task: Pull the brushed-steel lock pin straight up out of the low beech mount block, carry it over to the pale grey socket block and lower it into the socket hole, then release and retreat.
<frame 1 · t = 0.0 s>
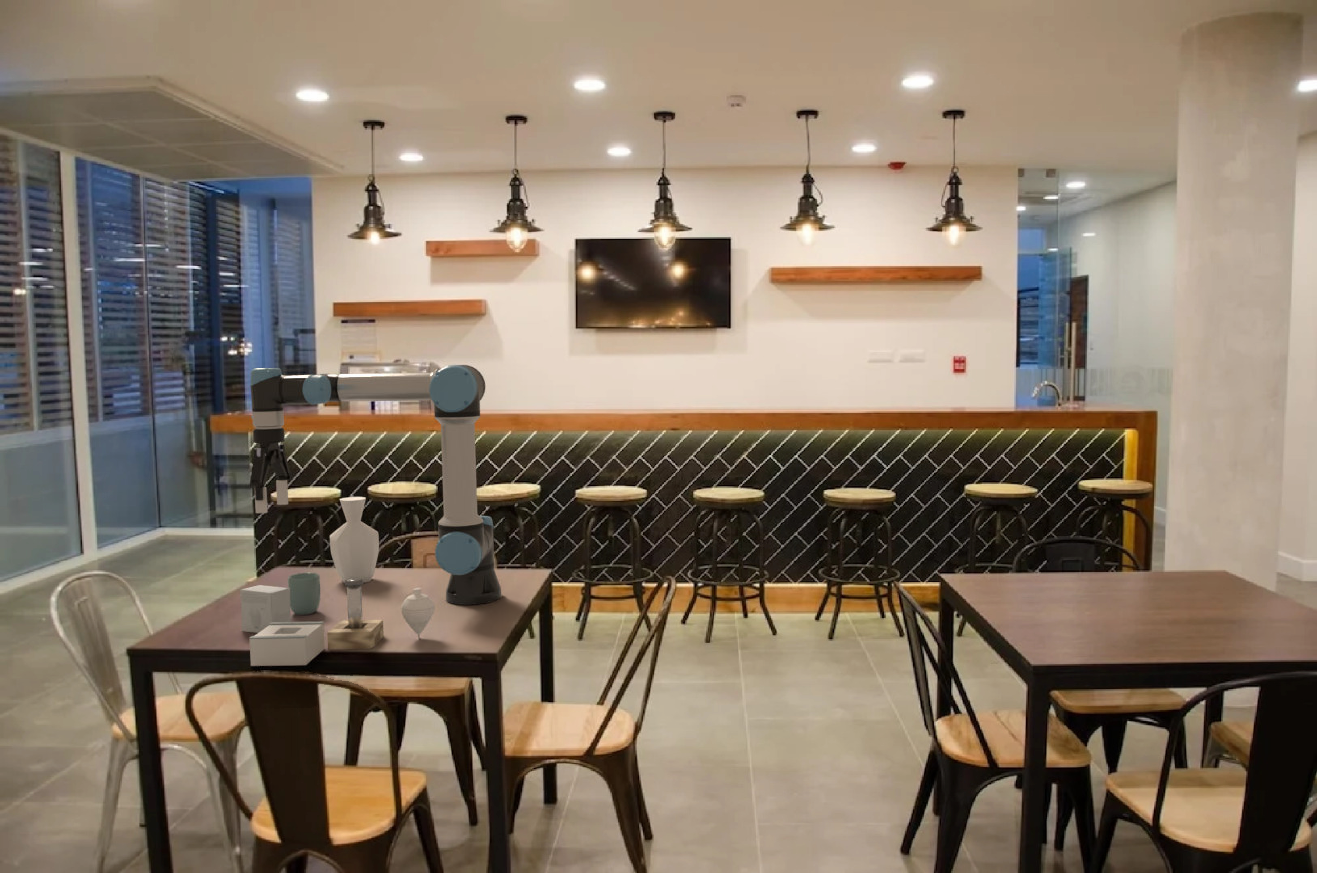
hand: (272, 508, 246), 28 cm above the table, fingers open, 13 cm apart
vase: (356, 581, 285), on the table
mount: (356, 642, 222), on the table
cup: (305, 613, 249), on the table
spinning top: (418, 638, 225), on the table
socket: (288, 656, 212), on the table
pin: (355, 611, 221), in the mount
skincare box: (266, 630, 234), on the table
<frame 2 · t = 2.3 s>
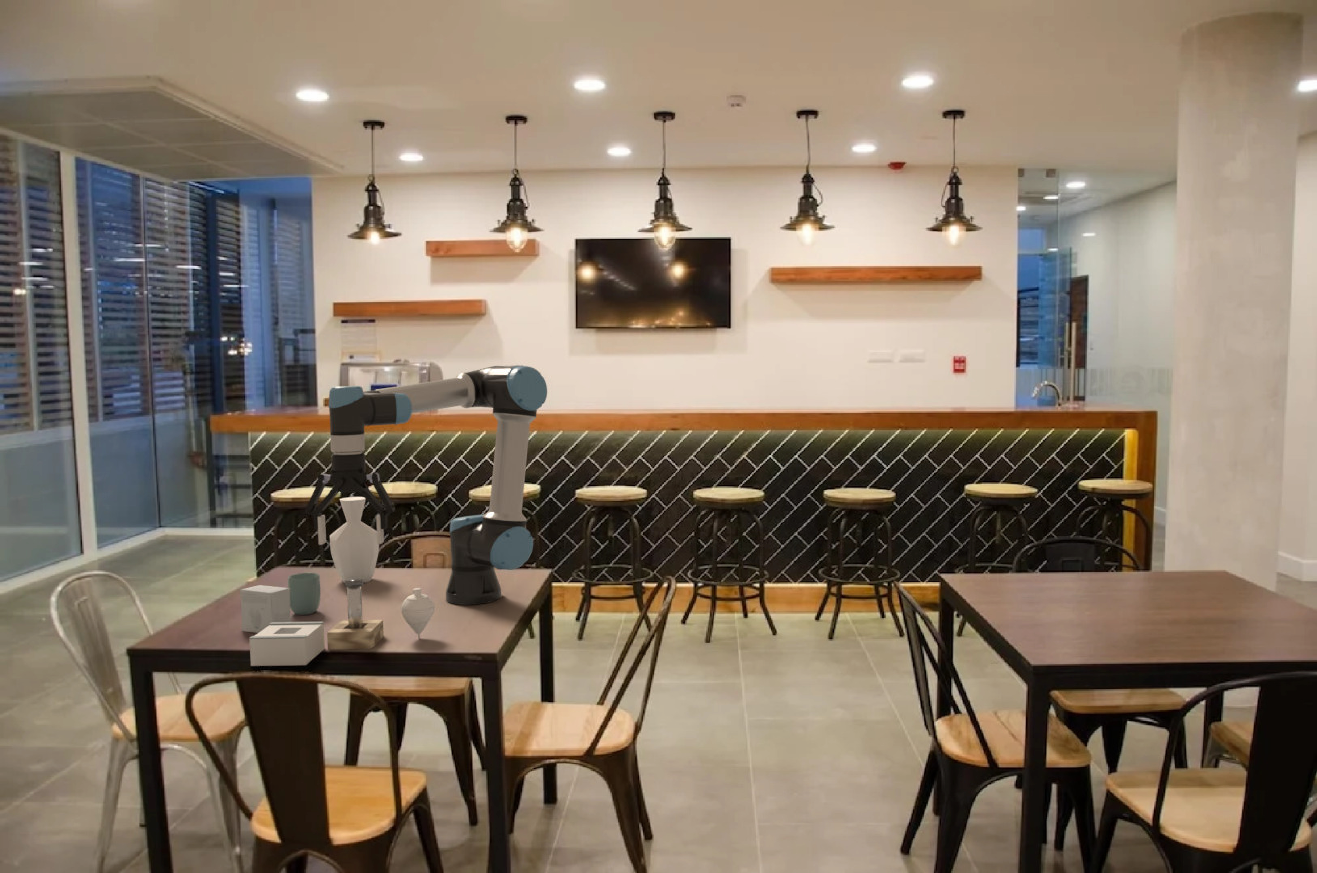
hand: (351, 543, 220), 24 cm above the table, fingers open, 13 cm apart
nothing on the table moved.
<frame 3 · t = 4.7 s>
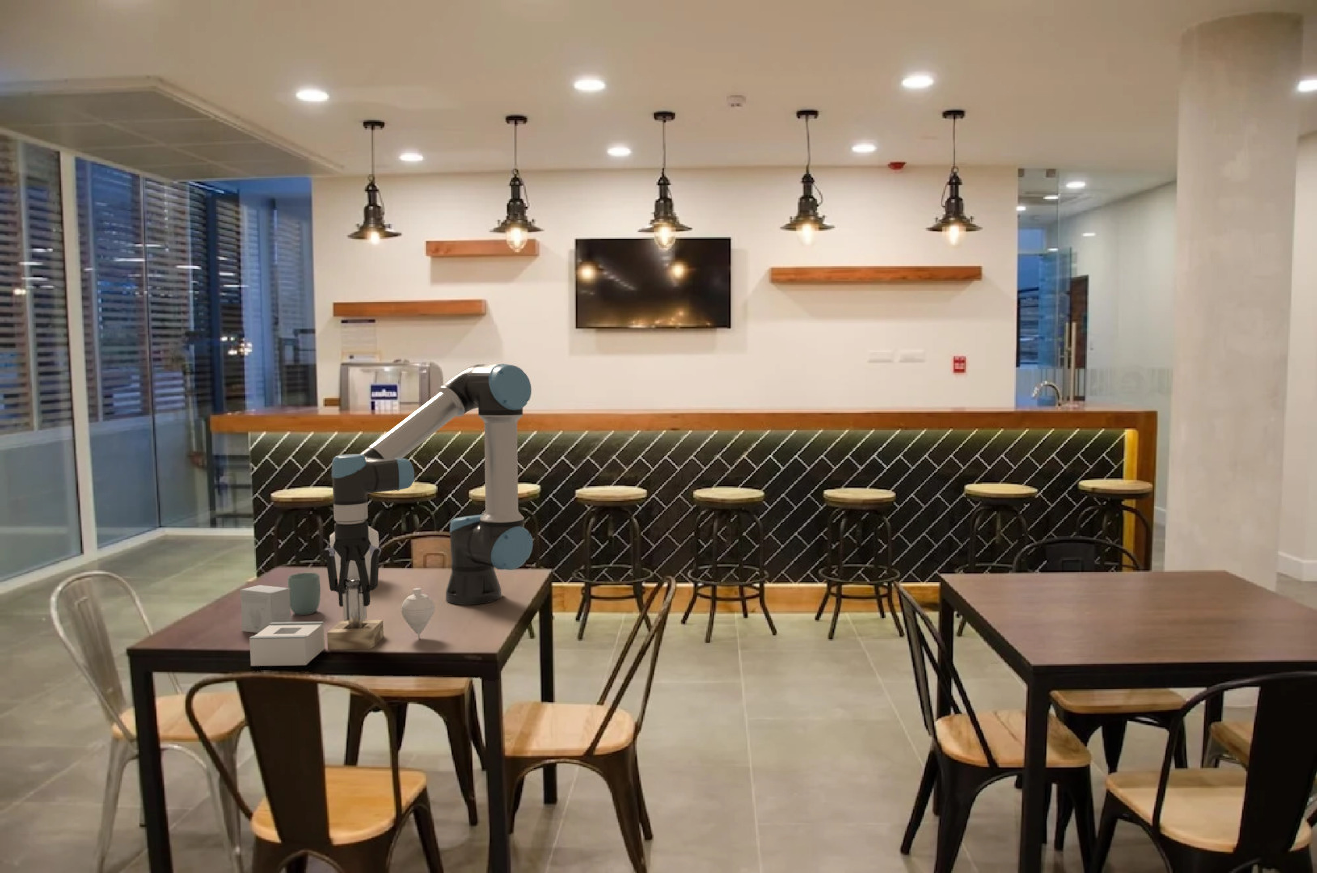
hand: (355, 619, 222), 6 cm above the table, fingers closed on pin, 3 cm apart
pin: (355, 611, 221), in the mount, touching gripper
everything else where it was.
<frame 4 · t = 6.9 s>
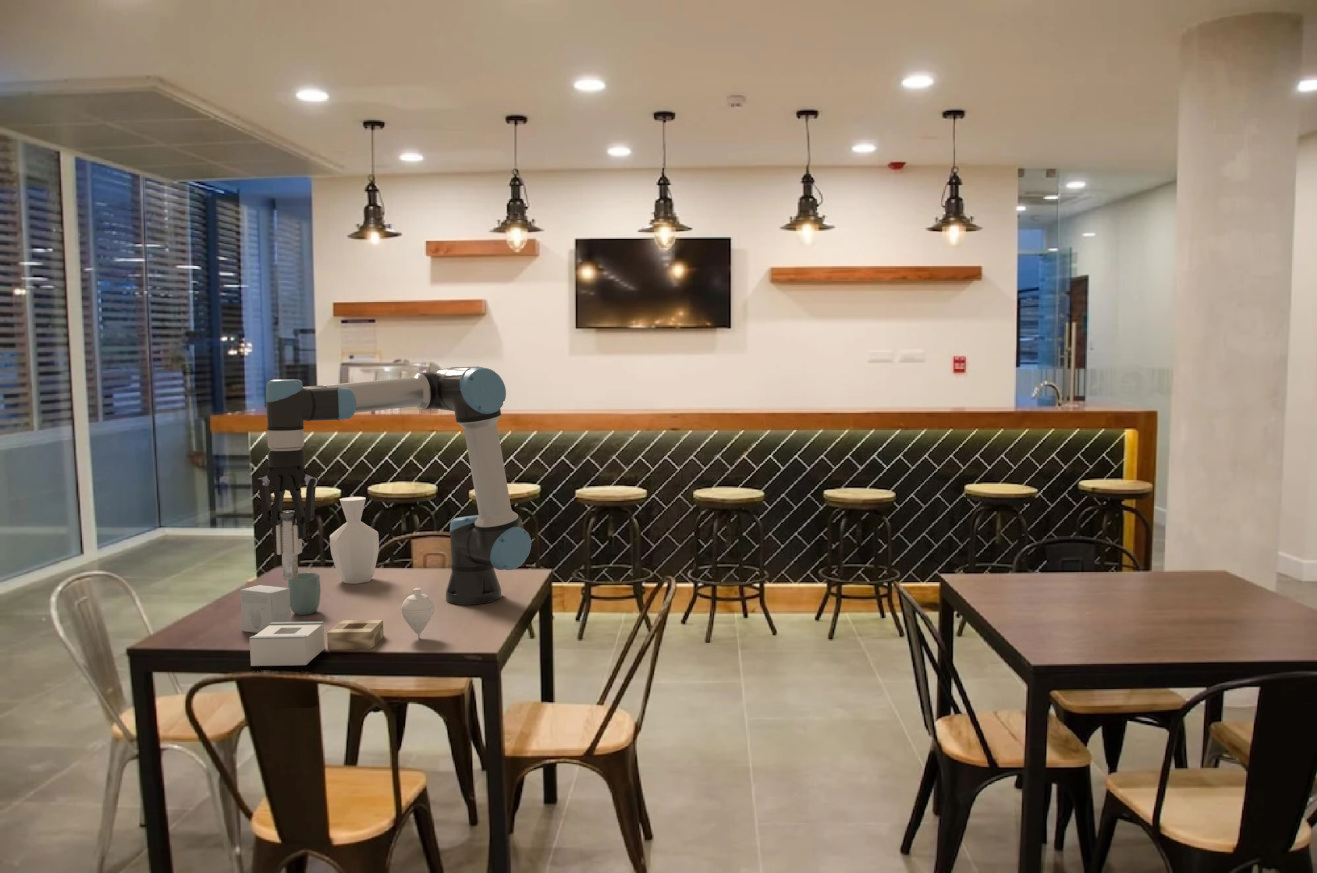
hand: (289, 553, 211), 23 cm above the table, fingers closed on pin, 3 cm apart
pin: (289, 545, 211), point 25 cm above the table, touching gripper
everything else where it was.
when the fingers open (8 cm above the table, at t = 9.3 s): pin drops 2 cm, resting in socket.
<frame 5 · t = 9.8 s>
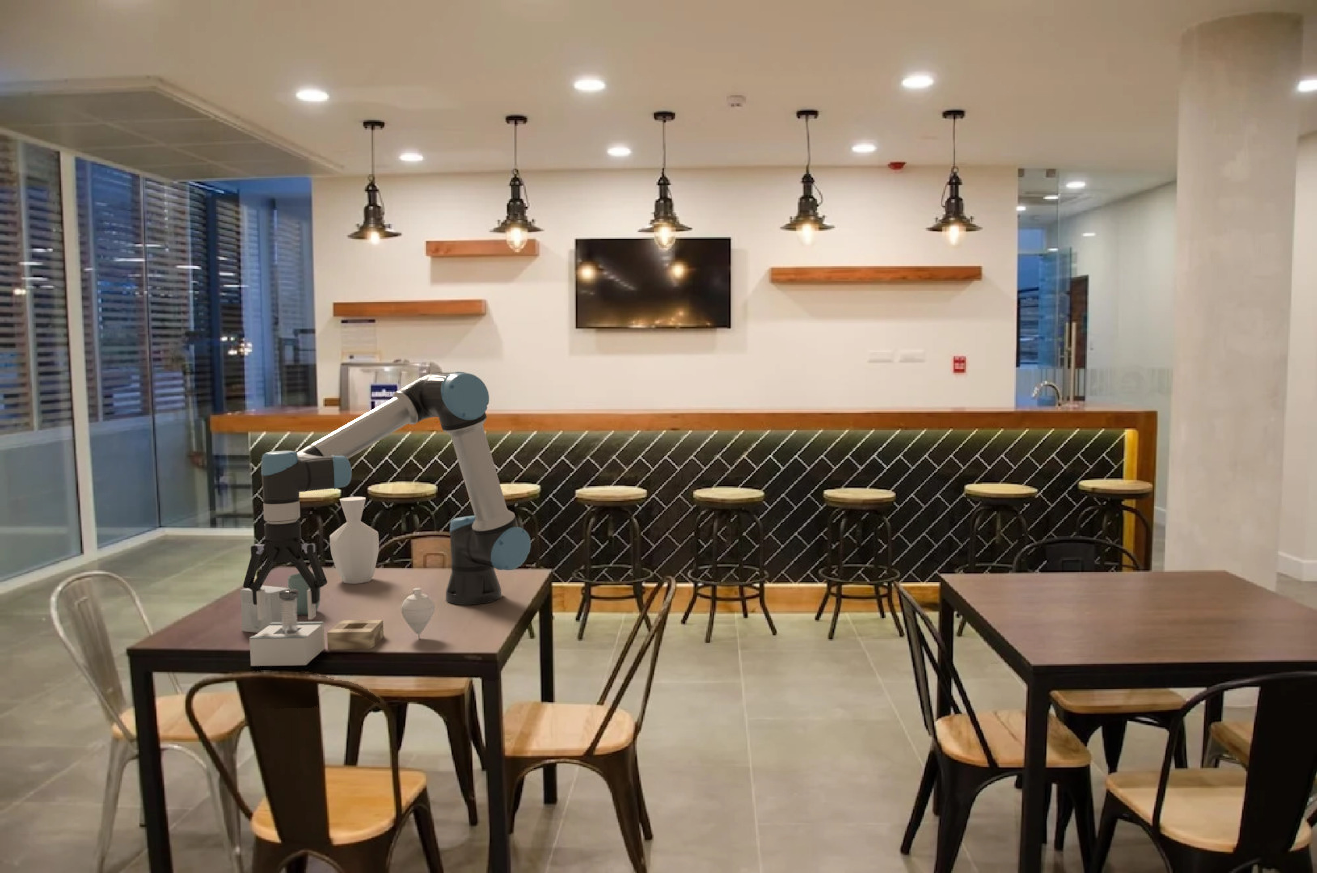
hand: (287, 618, 211), 9 cm above the table, fingers open, 10 cm apart
pin: (289, 624, 211), in the socket
everything else where it was.
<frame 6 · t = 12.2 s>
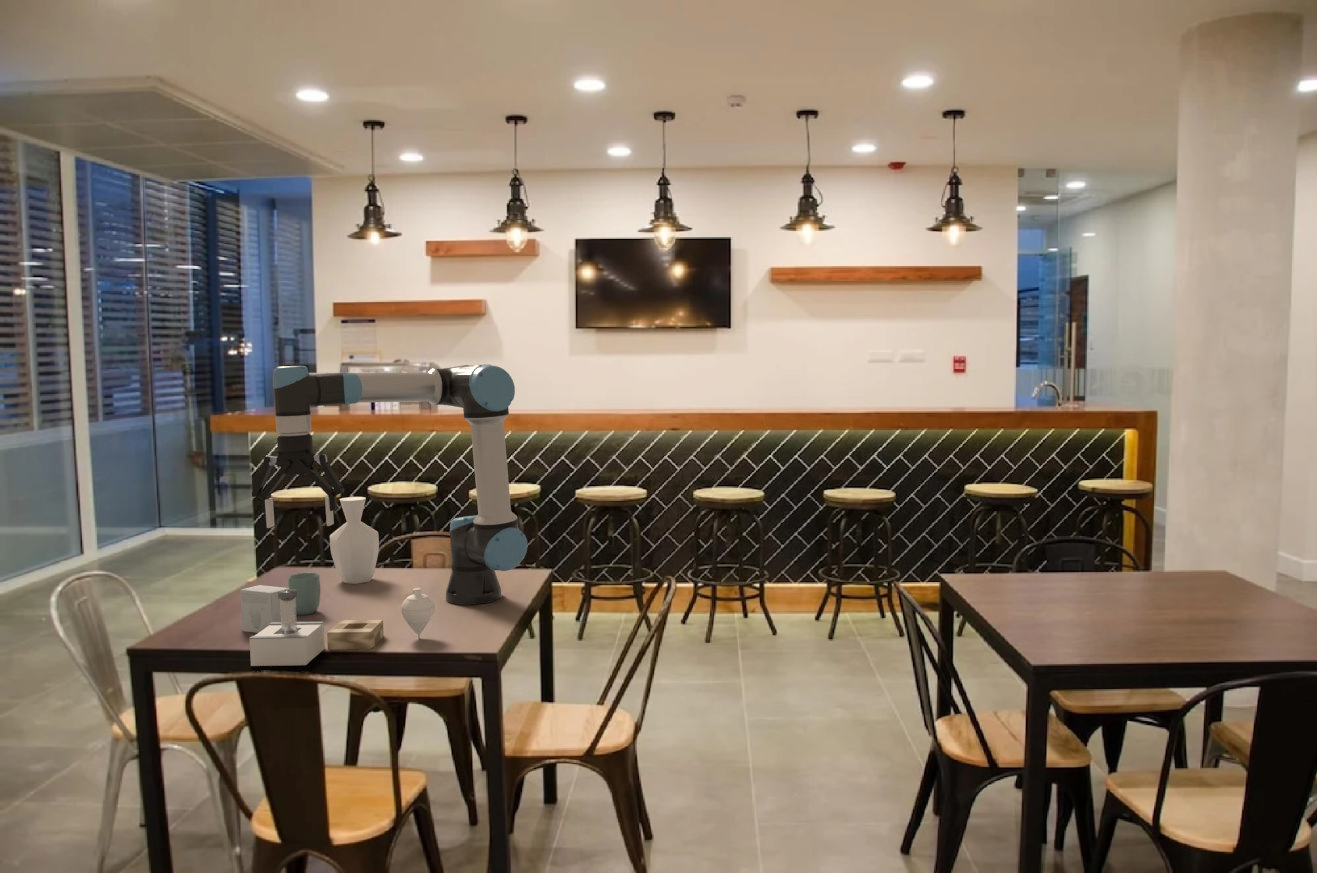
hand: (300, 526, 217), 29 cm above the table, fingers open, 13 cm apart
nothing on the table moved.
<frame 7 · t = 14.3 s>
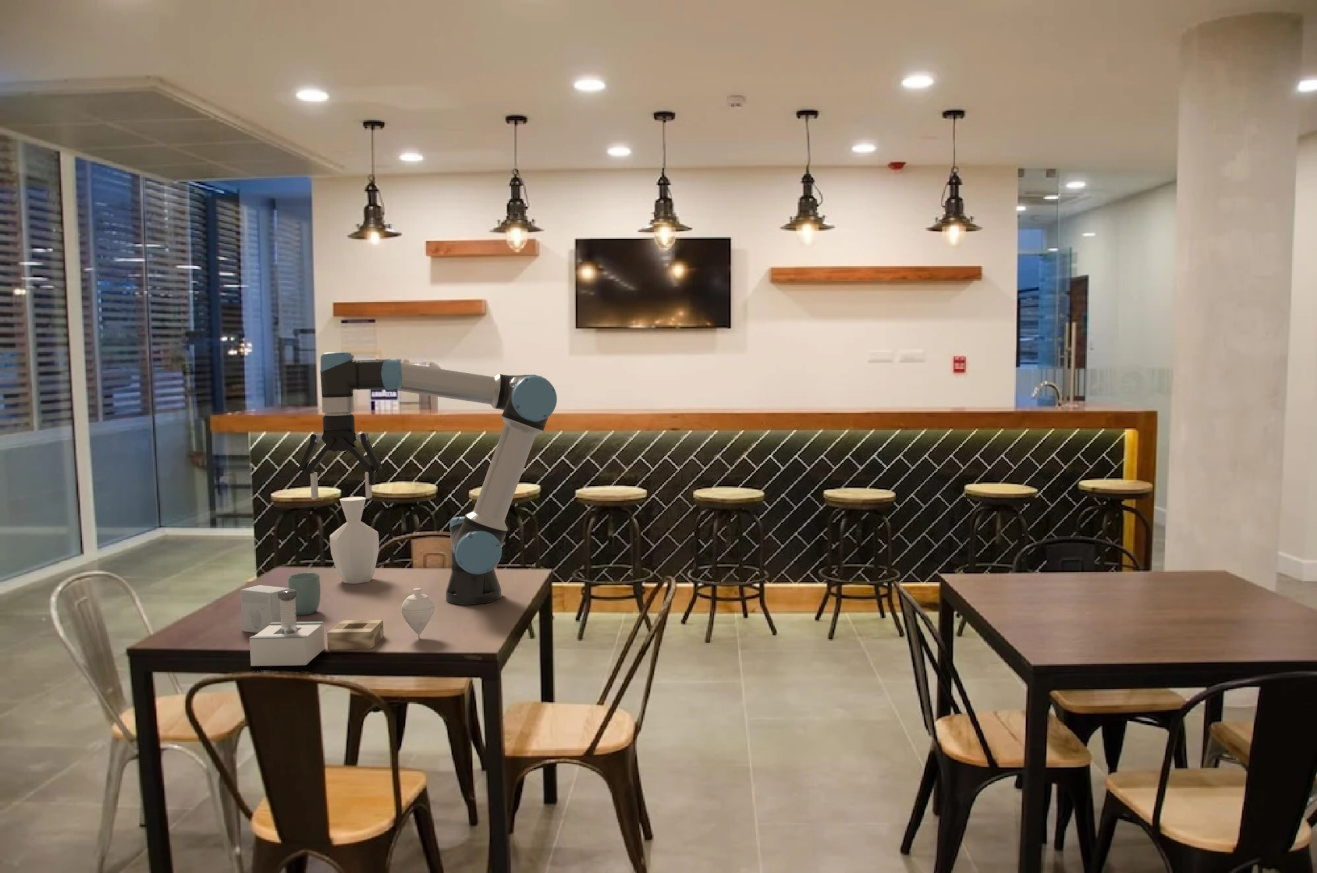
hand: (342, 498, 237), 32 cm above the table, fingers open, 13 cm apart
nothing on the table moved.
at the end: pin 0.4 cm off-centre on the socket, point 7.5 cm above the socket's base; pin tilted 0°; the gripper is holding nothing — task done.
